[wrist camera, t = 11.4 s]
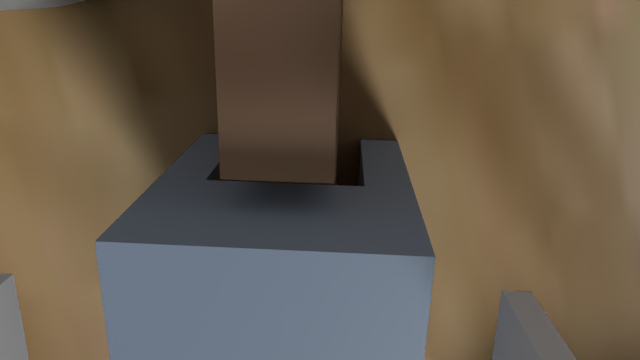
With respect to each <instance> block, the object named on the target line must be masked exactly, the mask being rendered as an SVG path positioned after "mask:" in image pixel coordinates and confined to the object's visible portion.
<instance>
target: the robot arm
mask: <svg viewBox="0 0 640 360" xmlns="http://www.w3.org/2000/svg"><path fill="white" fill-rule="evenodd" d="M0 360H29V358H28V352H27V347H26V341H25V336H24V330H23V325H22V319H21V314H20V308H19V303H18V297H17V292H16V286H15V281H14V275H13V274H3V273H0ZM492 360H577V359H576V358H575V356H574V355H573V353H572V352H571V350H570V349H569V347H568V346H567V344H566V343H565V341H564V340H563V338H562V337H561V335H560V334H559V332H558V331H557V329H556V328H555V326H554V325H553V323H552V322H551V320H550V319H549V317H548V316H547V314H546V313H545V311H544V310H543V308H542V307H541V306H540V304H539V303H538V301H537V300H536V298H535V297H534V295H533V294H532V292H531V291H504V290H502V294H501V300H500V307H499V314H498V320H497V327H496V334H495V340H494V347H493V354H492Z"/></svg>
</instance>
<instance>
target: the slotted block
mask: <svg viewBox="0 0 640 360" xmlns="http://www.w3.org/2000/svg"><path fill="white" fill-rule="evenodd" d="M95 247H96V255H97V263H98V270H99V278H100V286H101V293H102V301H103V308H104V316H105V324H106V331H107V339H108V347H109V354H110V360H424V356H425V346H426V337H427V328H428V319H429V310H430V301H431V292H432V283H433V274H434V265H435V254H434V251H433V248H432V245H431V242H430V239H429V236H428V233H427V230H426V227H425V224H424V221H423V217H422V214H421V211H420V208H419V205H418V202H417V199H416V196H415V193H414V190H413V187H412V184H411V181H410V177H409V174H408V171H407V168H406V165H405V162H404V159H403V156H402V153H401V150H400V147H399V144H398V141H386V140H361V144H360V163H359V182H358V186H341V185H317V184H292V183H268V182H243V181H240V180H224V179H220V165H219V142H218V134H202V135H201V136H200V137H199V138H198V139H197V140H196V141H195V142H194V143H193V144H192V145H191V146H190V147H189V148H188V149H187V150H186V151H185V152H184V153H183V154H182V155H181V156H180V157H179V158H178V159H177V160H176V161H175V162H174V163H173V164H172V165H171V166H170V167H169V168H168V169H167V170H166V171H165V172H164V173H163V174H162V175H161V176H160V177H159V178H158V179H157V180H156V181H155V182H154V183H153V184H152V185H151V186H150V187H149V188H148V189H147V190H146V191H145V192H144V193H143V194H142V195H141V196H140V197H139V198H138V199H137V200H136V201H135V202H134V203H133V204H132V205H131V206H130V207H129V208H128V209H127V210H126V211H125V212H124V213H123V214H122V215H121V216H120V217H119V218H118V219H117V220H116V221H115V222H114V223H113V224H112V225H111V226H110V227H109V228H108V229H107V230H106V231H105V232H104V233H103V234H102V235H101V236H100V237H99V238H98V239H97V240H96V241H95Z"/></svg>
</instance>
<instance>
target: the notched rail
mask: <svg viewBox="0 0 640 360" xmlns="http://www.w3.org/2000/svg"><path fill="white" fill-rule="evenodd" d="M212 4H213V27H214V50H215V73H216V96H217V119H218V142H219V165H220V179H224V180H243V182H268V183H292V184H317V185H337V157H338V128H339V99H340V70H341V42H342V13H343V0H212Z"/></svg>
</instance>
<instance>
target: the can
mask: <svg viewBox="0 0 640 360" xmlns="http://www.w3.org/2000/svg"><path fill="white" fill-rule="evenodd" d="M81 1H85V0H0V11H3V10H21V9H38V8H56V7H60V6H64V5H69V4H73V3H77V2H81Z"/></svg>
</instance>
